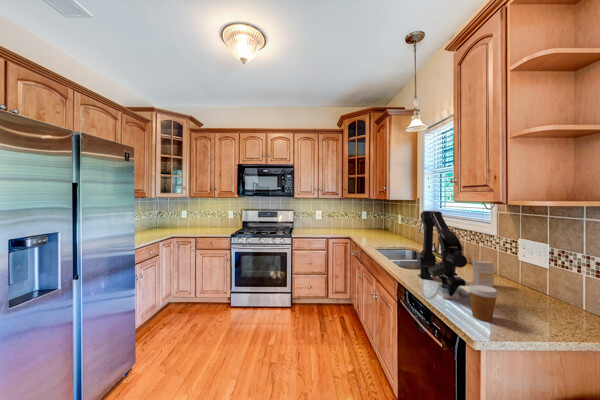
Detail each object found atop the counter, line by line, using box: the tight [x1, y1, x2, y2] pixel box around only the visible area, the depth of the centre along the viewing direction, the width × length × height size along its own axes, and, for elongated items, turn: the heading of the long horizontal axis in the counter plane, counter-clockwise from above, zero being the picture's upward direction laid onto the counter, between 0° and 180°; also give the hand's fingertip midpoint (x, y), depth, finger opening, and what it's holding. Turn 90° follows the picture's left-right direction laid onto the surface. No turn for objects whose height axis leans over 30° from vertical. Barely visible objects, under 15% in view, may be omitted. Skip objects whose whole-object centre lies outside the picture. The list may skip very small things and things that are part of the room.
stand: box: [458, 284, 470, 298], centre depth 120 cm, size 13×13×2 cm
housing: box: [437, 283, 460, 301], centre depth 114 cm, size 5×7×5 cm
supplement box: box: [472, 260, 495, 288], centre depth 129 cm, size 8×5×13 cm, turn 84°
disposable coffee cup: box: [468, 283, 499, 322], centre depth 95 cm, size 10×10×12 cm
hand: (447, 293), depth 115 cm, fingers closed on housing, 5 cm apart
